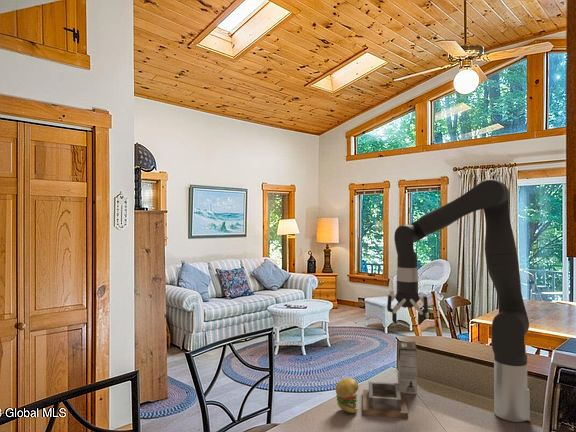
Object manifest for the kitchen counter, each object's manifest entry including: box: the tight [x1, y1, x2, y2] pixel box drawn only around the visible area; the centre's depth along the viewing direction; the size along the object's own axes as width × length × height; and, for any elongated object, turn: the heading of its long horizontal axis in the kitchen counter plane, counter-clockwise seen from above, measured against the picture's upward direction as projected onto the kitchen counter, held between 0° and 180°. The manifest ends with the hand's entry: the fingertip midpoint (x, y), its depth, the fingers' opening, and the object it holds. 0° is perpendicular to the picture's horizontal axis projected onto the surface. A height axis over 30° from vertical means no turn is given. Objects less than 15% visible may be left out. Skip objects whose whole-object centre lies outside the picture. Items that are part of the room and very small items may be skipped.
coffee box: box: [397, 341, 418, 395], centre depth 156 cm, size 9×6×16 cm
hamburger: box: [335, 375, 359, 414], centre depth 138 cm, size 8×7×12 cm
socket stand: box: [362, 381, 409, 419], centre depth 143 cm, size 14×16×5 cm
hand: (407, 323), depth 156 cm, fingers open, 8 cm apart
